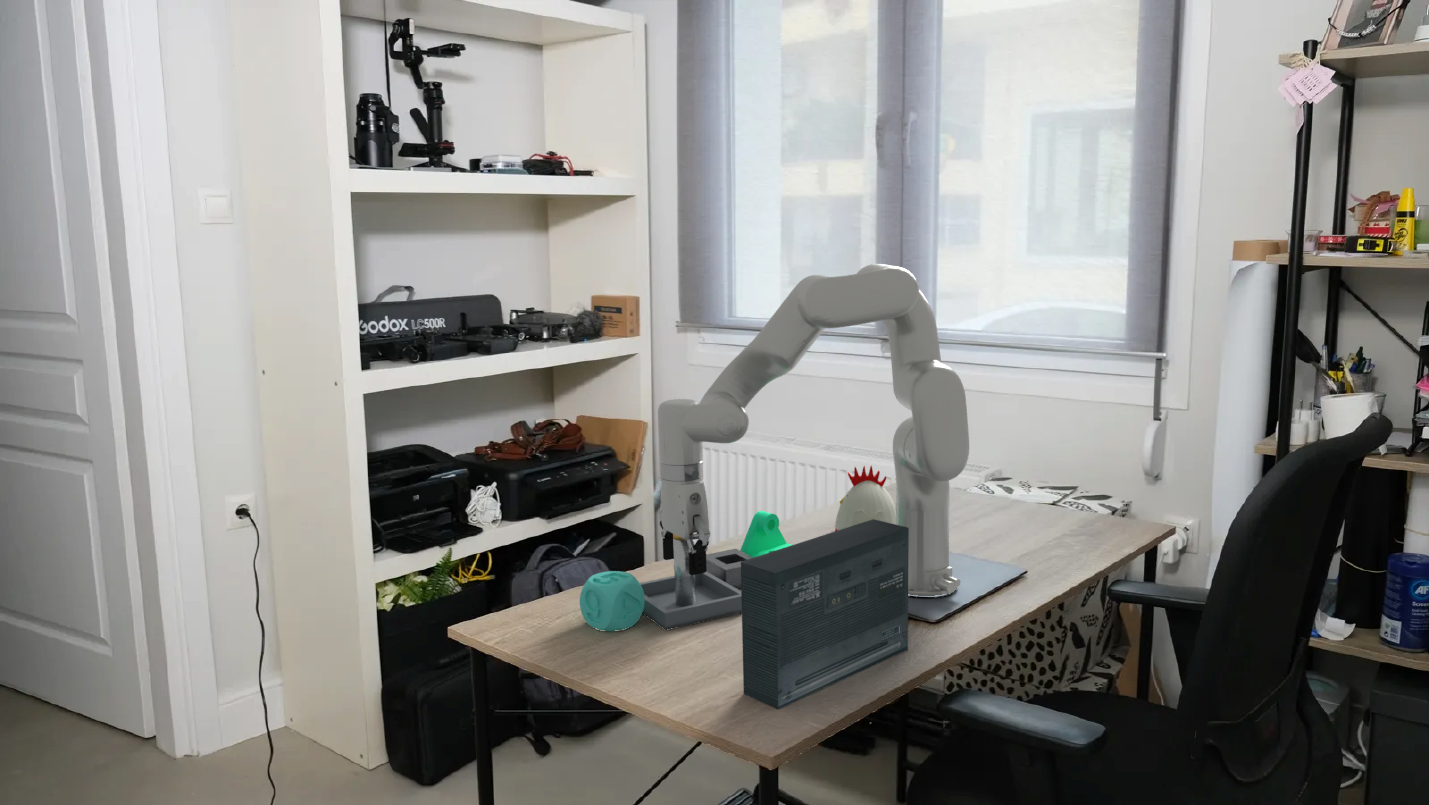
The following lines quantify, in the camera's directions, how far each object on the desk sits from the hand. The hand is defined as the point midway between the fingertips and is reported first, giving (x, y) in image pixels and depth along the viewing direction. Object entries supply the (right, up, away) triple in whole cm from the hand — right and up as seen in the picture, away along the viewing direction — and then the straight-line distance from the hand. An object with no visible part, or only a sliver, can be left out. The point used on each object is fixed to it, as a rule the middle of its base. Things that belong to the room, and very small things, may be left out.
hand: (684, 565), depth 188 cm
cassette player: (+23, -12, -27) cm, 37 cm away
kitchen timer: (+38, 0, +41) cm, 56 cm away
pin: (0, -7, +1) cm, 7 cm away
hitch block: (+8, -5, +15) cm, 18 cm away
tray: (0, -7, +1) cm, 7 cm away
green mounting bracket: (+17, -4, +23) cm, 29 cm away
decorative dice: (-12, -9, -5) cm, 16 cm away
